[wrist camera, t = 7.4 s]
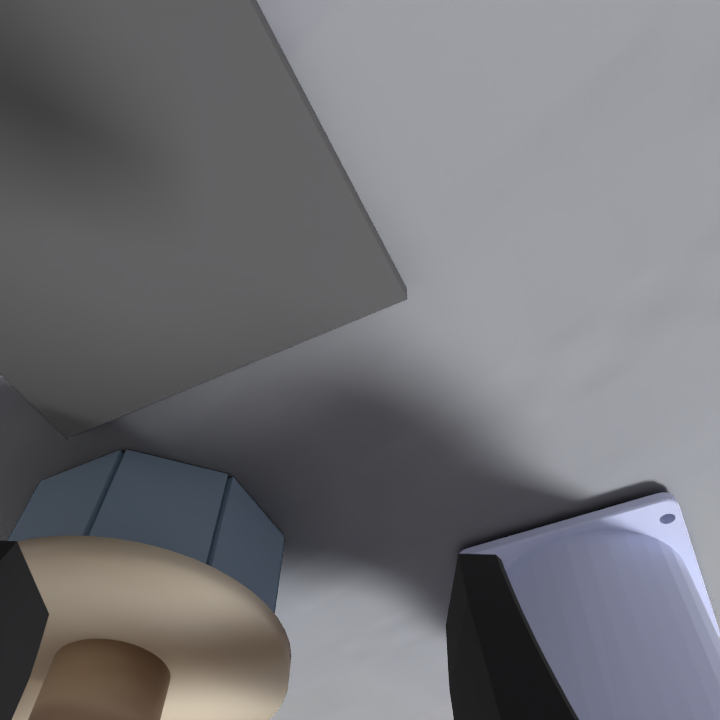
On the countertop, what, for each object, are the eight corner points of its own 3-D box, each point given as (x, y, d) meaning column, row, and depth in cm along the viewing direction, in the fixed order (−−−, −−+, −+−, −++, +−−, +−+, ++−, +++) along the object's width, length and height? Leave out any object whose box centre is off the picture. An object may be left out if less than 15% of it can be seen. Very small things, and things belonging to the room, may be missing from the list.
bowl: (319, 577, 26) (309, 689, 23) (137, 631, 29) (102, 740, 25) (187, 423, 22) (148, 533, 18) (-17, 503, 24) (-86, 614, 21)
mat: (406, 287, 19) (407, 298, 18) (73, 426, 22) (66, 439, 21) (141, -220, 12) (131, -224, 12) (-269, 82, 16) (-289, 88, 15)
